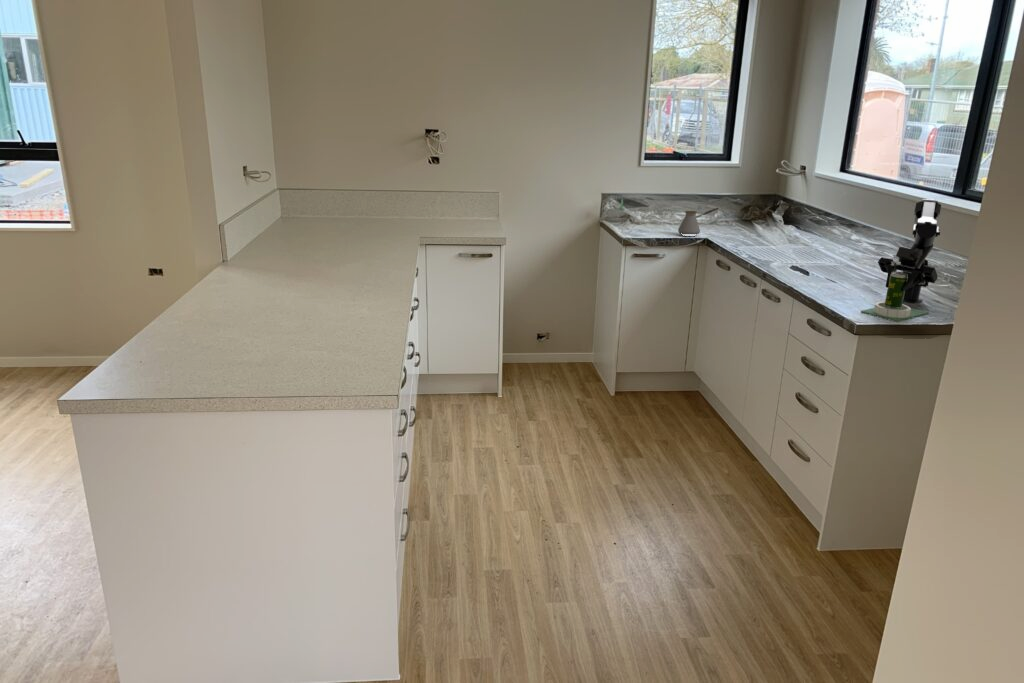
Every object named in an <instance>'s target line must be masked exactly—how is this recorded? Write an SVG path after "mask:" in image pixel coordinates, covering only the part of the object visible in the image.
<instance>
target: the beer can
mask: <svg viewBox="0 0 1024 683" xmlns="http://www.w3.org/2000/svg"><path fill="white" fill-rule="evenodd" d="M907 275H908V274H907V273H904V272H903V271H899V270H897V271H894V272H892V273H891V275H890V279H889V284H888V288H887V290H886V294H885V299H884V302H885V307H887V308H891V309H900V308H901V307H902V304H903V303H904V301H903V299H904V294H905V291H902V288H903V286H904V285H905V283H906V282H907V279H908V276H907Z"/></svg>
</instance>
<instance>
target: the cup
mask: <svg viewBox="0 0 1024 683" xmlns="http://www.w3.org/2000/svg"><path fill="white" fill-rule="evenodd" d="M873 308H874V312H875V313H877V314H879V315H883V316H887V317H894V318H906V317H909V316H910V312H911V308H912V307H911V306H908V305H906V304H903V303H902V307H901V308H900V309H891V308H887V307H885V301H877V302H875V304H874V307H873Z"/></svg>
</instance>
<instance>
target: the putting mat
mask: <svg viewBox="0 0 1024 683" xmlns="http://www.w3.org/2000/svg"><path fill="white" fill-rule="evenodd" d="M910 308H911V312H910V316H909V317H906V318H894V317H887V316H883V315H879V314H877V313H875V312H874V307H872V308H867V309H863V310H861V311H860V313H861V312H862V314H865V313H866V315H869V314H870V316H873V315H874V316H873V317H877V316H878V317H877V318H880V317H883V318H882V319H884V318H886V319H885V320H888V319H890V320H889V321H892V320H893V321H892V322H895V321H896V323H899V322H902V320H903V321H906V320H910V319H914V318H917V316H918V317H921V316H925V315H928V314H929V312H928V311H924V310H920V309H917V308H912V307H910ZM913 317H914V318H913ZM909 318H910V319H909ZM898 321H899V322H898Z"/></svg>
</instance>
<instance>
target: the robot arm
mask: <svg viewBox="0 0 1024 683" xmlns="http://www.w3.org/2000/svg"><path fill="white" fill-rule="evenodd" d="M941 208H942V204H940V203H939V201H938V200H936V199H930V198H929V199H928V198H923V199H921V201H918V202H916V203H915V206H914V212H913V216H914V223H915V224H913V229H912V233H911V234H912V235H913V238H914V243H913V245H912V246H911V247H910V248H909V247H904V246H899V247H898V249H897V252H896V254H895V256H896V257H897V258H898V262H899V263H897V262H895V261H894V259H893V258H890V257H884V256H883V257H882V256H881V257H880V258H879V259H878V261H877V264H878V266H879V269H880V270H881V272H882V273H884V274H885V273H886V274H887V277H886V283H885V288H887V289H888V284H889V279H890V275H891V273H892V272H894V271H899V272H904V273H907V274H908V275H907V276H908V279H907V282H906V283H905V285H904V286H903V288H902V291H905V294H904V299H903V302H907V303H911V304H915V303H920V302H923V299H921V298H920V294H921V291H922V287H923V288H926V287H929V283H931V284H935V283H936V281H937V280H938V277H939V275H938V273H937V270H936V268H935V266H930V265H929V261H928V260H927V259H926V258H927V257H928V256H929V254H930V252H931V251H932V250H933V247H934V241H935V238H936V237H938V236H940V235H941V229H940V226H939V225H938V220H937V218H939V217H940V213H941Z"/></svg>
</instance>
